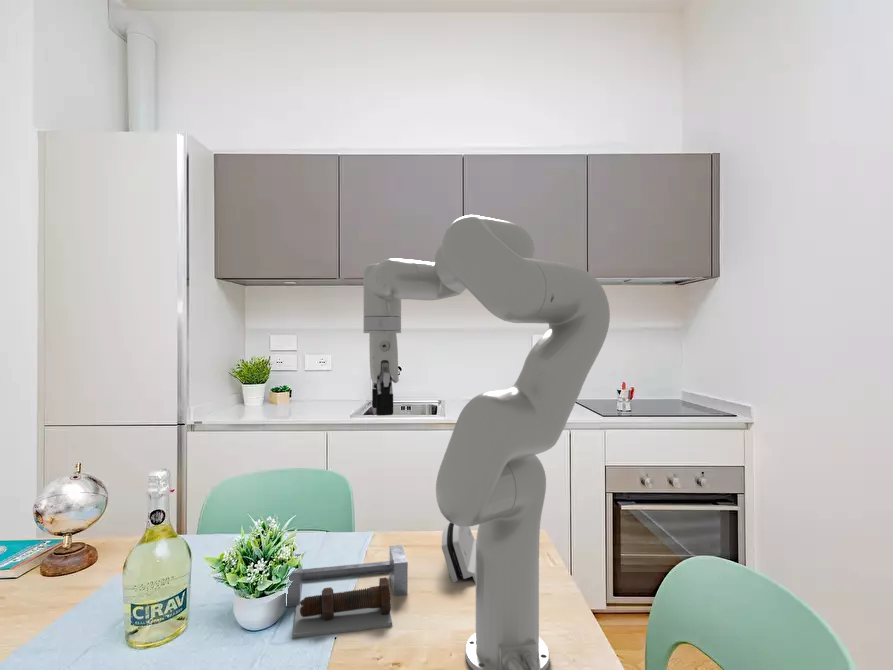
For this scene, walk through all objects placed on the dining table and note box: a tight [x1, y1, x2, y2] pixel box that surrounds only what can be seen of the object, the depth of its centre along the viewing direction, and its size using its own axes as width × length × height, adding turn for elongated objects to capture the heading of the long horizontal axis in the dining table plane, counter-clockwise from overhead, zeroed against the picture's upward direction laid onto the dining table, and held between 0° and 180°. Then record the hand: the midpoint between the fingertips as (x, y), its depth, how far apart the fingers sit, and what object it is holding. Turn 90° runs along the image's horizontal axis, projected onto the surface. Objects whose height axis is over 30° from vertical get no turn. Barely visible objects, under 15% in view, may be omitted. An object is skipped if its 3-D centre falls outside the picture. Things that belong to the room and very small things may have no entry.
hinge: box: [441, 521, 476, 584], centre depth 110 cm, size 17×5×10 cm, turn 172°
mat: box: [292, 605, 393, 639], centre depth 89 cm, size 9×16×1 cm, turn 103°
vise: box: [286, 544, 409, 608], centre depth 100 cm, size 11×22×6 cm, turn 102°
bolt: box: [300, 576, 392, 621], centre depth 89 cm, size 6×5×15 cm
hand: (382, 411), depth 104 cm, fingers open, 9 cm apart
